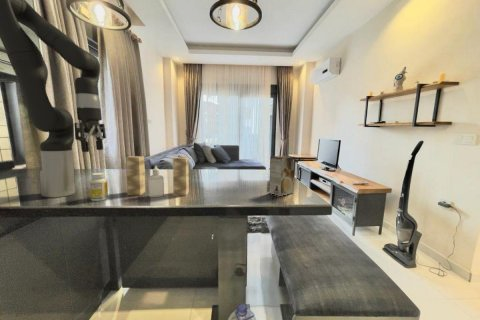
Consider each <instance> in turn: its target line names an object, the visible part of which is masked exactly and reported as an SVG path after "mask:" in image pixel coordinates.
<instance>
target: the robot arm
mask: <svg viewBox="0 0 480 320" xmlns="http://www.w3.org/2000/svg"><path fill="white" fill-rule="evenodd" d="M20 24H21V25H23V26H24V27H26V28H28V29H29V30H31V31H32V32H33V33H34V34H35V35H36V36H37V38H38V39H39V40H40V41H41V42H43V44H45V45H47V47H49V48H50V49H52V50H53V51H54V52H55V53H56V54H59V56H60V57H61V58H62V59H63V60H64V61H65V62H66V63H68V65H70V66H72V67H73V68H75V69H77V70H79V71H80V73H81V74H80V76H79V77H77V78H75V80H74V90H75V107H76V116H77V120H78V121H81V122H74V119H73V115H72V114H71V112H69V110H67V109H65V108H61V107H55V106H53V105H52V103H51V101H50V99H49V97H48V93H47V89H46V86H47V81H48V79H49V78H48V77H49V76H48V75H49V71H48V67H47V64H46V61H45V59H44V57H43V54H42V52H41V50H40V49H39V48H38V46H37V45H36V44H35V42H34V41H33V39H31V37H30V36H29V35H28V34H27V32H26V31H25V30H24V29H23V28H22V26H21V25H20ZM0 41H1V43H2V45H3V47H4V50H5V52H6V55H7V58H8V60H9V63H10V65H11V67H12V69H13V72H14V73H15V75H16V76H15V77H16V78H17V81H18V83H19V86H20V89H21V91H22V94H23V98H24V100H25V104H26V108H27V111H28V115H29V117H30V120H31V123H32V124H33V126H34V128H36V129H37V130H39V131H41V132H43V133H48V135H47V136H48V137H47V138H46V139H45V140H44V141H42V142H41V143H40V144H39V149H40V158H41V159H40V160H41V170H40V171H39V181H40V192H41V196H42V197H45V198H62V197H66V196H71V195H74V194H75V193H76V189H75V188H76V186H75V173H74V172H75V171H74V157H73V144H74V141H79V142H80V147H81V148H80V149H81V152H83V153H89V152H90V144H89V139H90V137H93V138H94V139H95V148H96V150H97V151H102V150H104V146H103V145H104V144H103V141H104V139H106V138H107V135H106V128H105V127H106V126H105V124H104V123H99V122H100V121H102V119H103V118H102V107H101V99H100V95H99V94H100V93H99V80H100V74H101V65H100V64H101V63H100V61H99V59H98V57H96V55H94V54H92V53H90V52H88V51H86V50H85V49H84V48H82V47H80V46H79V45H78V44H76V43H75V42H74V40H73V39H72V38H71V37H69V36H68V35H67V34H65V33H64V32H63V31H62V30H61V29H59V28H57V27H56V26H54V25H53V24H52V23H50V22H49V21H48V20H46V19H45V18H44V17H43V16H42V15H40V13H38V11H36V10H35V9H34V8H33V7H32V6H31V5H30V4H29V2H27V0H0Z"/></svg>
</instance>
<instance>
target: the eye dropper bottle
mask: <svg viewBox="0 0 480 320" xmlns="http://www.w3.org/2000/svg"><path fill="white" fill-rule="evenodd" d="M164 178H165V177H164V176H163V175H161V174H160V169H159V168H158V165H155V166H154V167H153V169H152V175H150V176H148V180H147V181H148V184H147V185H148V197H149V198H159V197H164V196H165V187H164V186H165V183H164V182H165V180H164Z"/></svg>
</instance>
